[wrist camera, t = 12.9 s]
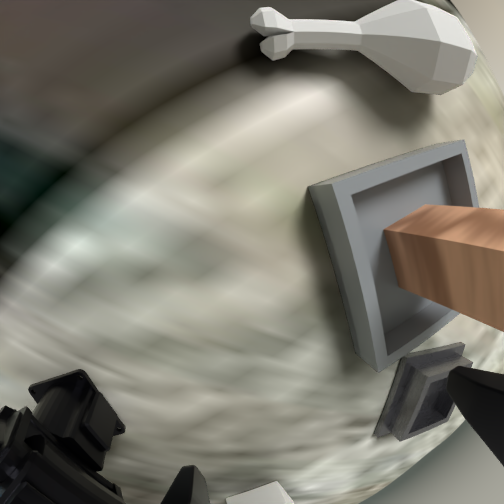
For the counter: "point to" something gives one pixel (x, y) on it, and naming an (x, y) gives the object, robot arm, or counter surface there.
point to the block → (452, 258)
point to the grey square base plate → (421, 392)
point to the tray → (376, 248)
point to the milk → (262, 495)
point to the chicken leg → (383, 42)
